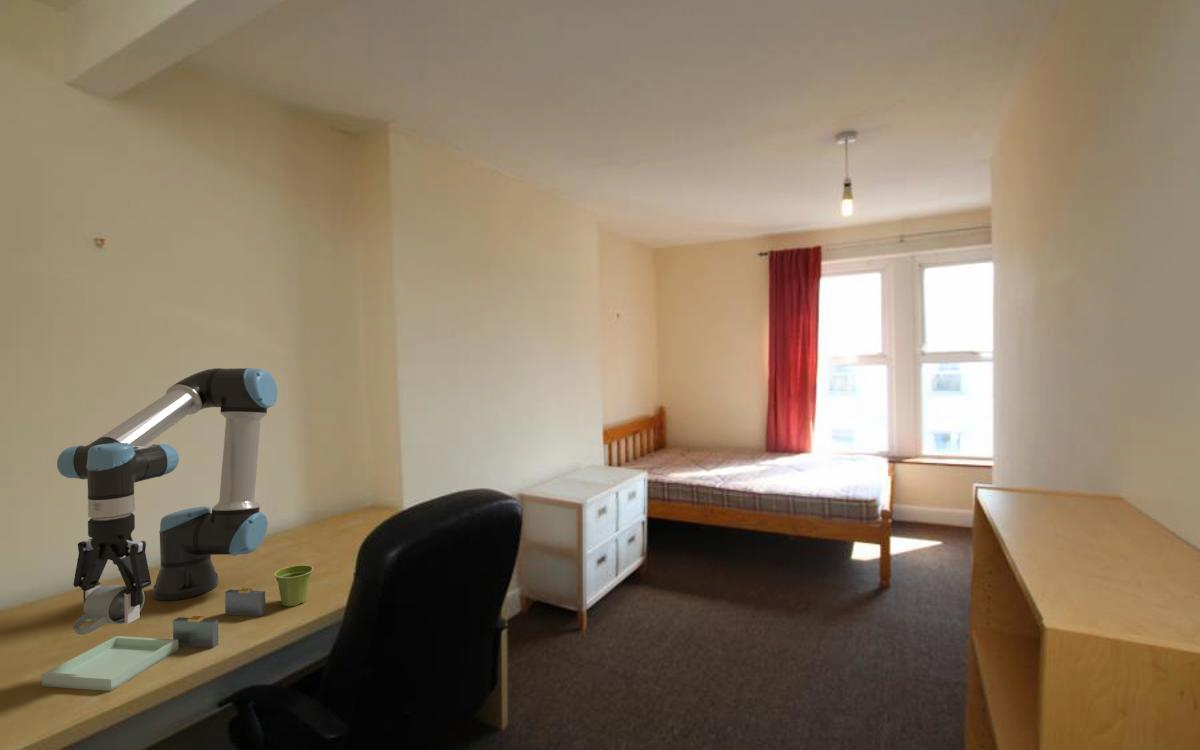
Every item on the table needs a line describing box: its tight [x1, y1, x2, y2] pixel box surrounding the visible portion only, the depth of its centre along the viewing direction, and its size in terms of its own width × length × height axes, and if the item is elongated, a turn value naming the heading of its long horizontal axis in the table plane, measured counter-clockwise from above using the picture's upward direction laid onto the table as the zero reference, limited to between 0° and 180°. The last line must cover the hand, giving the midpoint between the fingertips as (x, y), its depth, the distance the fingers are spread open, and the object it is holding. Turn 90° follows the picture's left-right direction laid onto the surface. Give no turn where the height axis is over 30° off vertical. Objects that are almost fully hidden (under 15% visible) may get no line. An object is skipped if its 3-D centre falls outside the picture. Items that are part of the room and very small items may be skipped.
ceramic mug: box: [72, 584, 146, 635], centre depth 116 cm, size 11×8×8 cm
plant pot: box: [274, 564, 314, 607], centre depth 150 cm, size 9×9×9 cm
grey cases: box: [172, 587, 266, 649], centre depth 135 cm, size 10×17×6 cm, turn 175°
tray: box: [41, 635, 179, 692], centre depth 118 cm, size 16×16×2 cm
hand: (112, 619), depth 118 cm, fingers closed on ceramic mug, 9 cm apart
